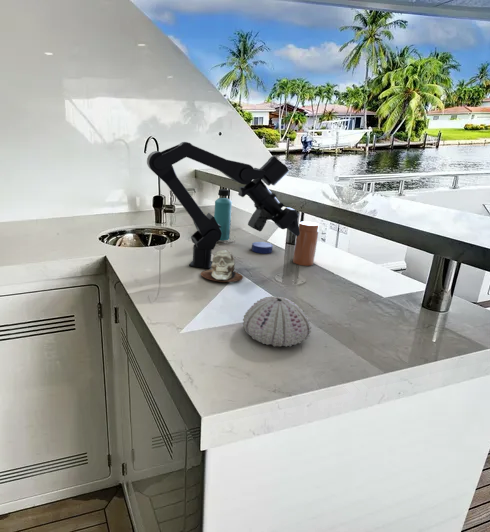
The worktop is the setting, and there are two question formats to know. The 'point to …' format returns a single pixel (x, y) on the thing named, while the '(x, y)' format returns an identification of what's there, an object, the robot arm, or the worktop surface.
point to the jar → (306, 243)
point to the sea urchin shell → (276, 322)
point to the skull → (222, 268)
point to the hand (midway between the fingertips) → (291, 231)
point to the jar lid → (262, 247)
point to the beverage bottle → (223, 213)
